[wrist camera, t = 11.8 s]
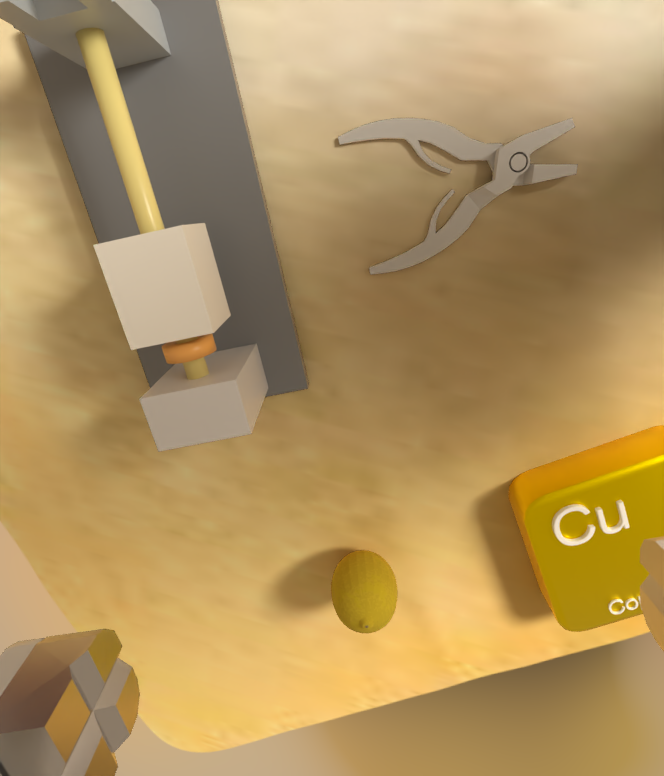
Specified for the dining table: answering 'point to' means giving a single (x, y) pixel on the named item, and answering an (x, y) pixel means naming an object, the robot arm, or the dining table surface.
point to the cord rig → (172, 189)
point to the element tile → (593, 527)
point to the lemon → (364, 591)
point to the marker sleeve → (164, 284)
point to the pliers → (503, 160)
